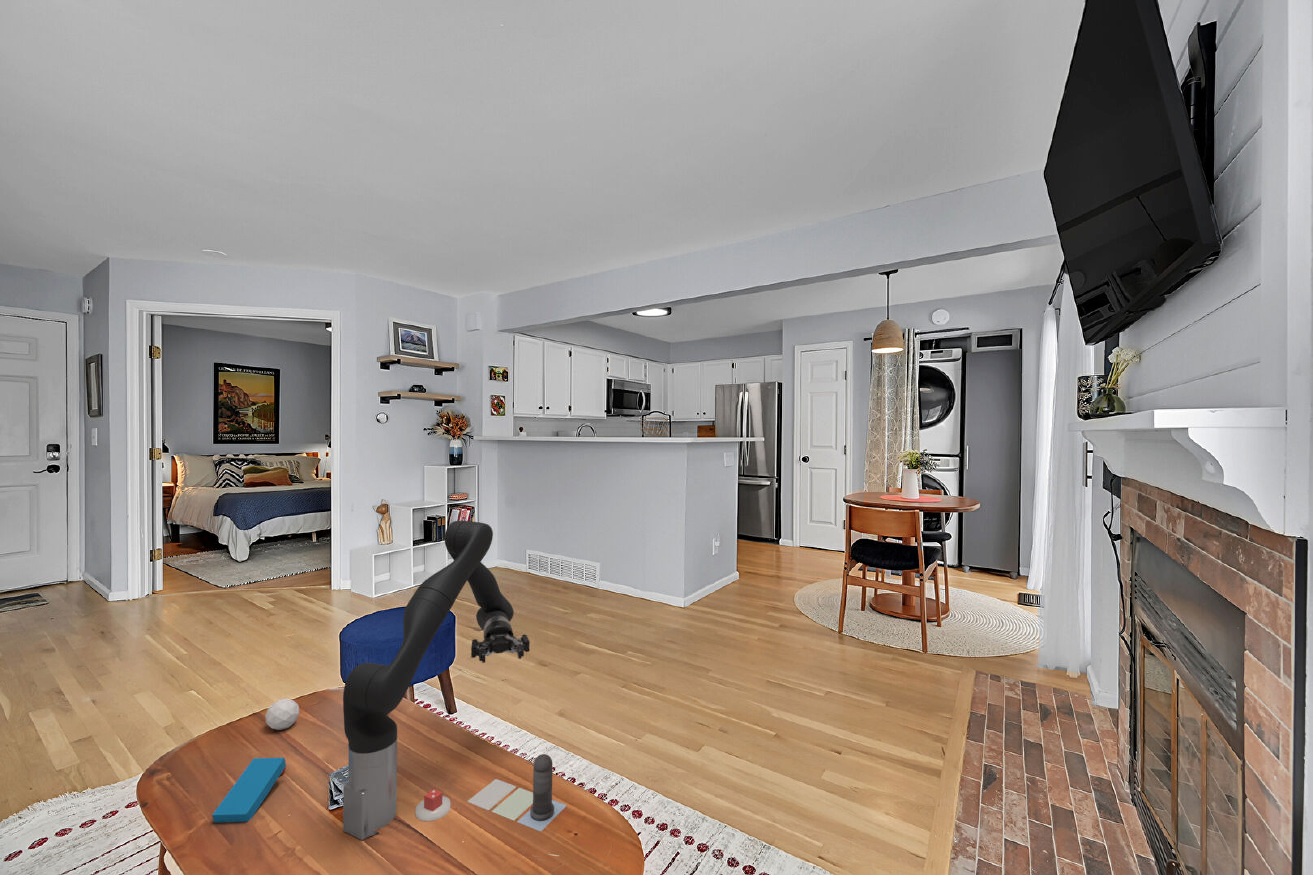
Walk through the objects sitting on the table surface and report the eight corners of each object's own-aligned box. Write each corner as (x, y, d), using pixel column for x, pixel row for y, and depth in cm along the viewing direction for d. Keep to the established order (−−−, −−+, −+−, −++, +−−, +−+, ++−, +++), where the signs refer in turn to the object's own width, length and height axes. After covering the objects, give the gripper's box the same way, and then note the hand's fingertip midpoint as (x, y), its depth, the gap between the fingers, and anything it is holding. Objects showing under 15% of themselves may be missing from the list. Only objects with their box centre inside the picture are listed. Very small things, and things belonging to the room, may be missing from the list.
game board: (539, 840, 116) (539, 834, 116) (462, 808, 125) (462, 803, 125) (570, 808, 126) (570, 803, 126) (497, 781, 135) (497, 776, 135)
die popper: (431, 830, 118) (432, 807, 118) (408, 819, 121) (408, 797, 121) (457, 810, 125) (457, 788, 125) (434, 800, 128) (434, 779, 128)
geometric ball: (282, 740, 156) (274, 726, 151) (264, 724, 158) (254, 710, 153) (308, 717, 161) (301, 703, 156) (290, 702, 164) (282, 687, 159)
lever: (252, 839, 122) (297, 767, 139) (246, 813, 120) (293, 744, 137) (218, 840, 121) (267, 768, 138) (212, 814, 119) (263, 745, 136)
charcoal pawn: (544, 823, 119) (545, 764, 119) (525, 816, 121) (526, 758, 121) (558, 809, 124) (559, 752, 123) (540, 802, 126) (541, 746, 126)
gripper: (470, 622, 152) (471, 644, 137) (525, 617, 157) (532, 638, 141) (470, 650, 152) (471, 675, 137) (524, 644, 157) (531, 668, 141)
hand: (502, 656), depth 139 cm, fingers open, 8 cm apart
